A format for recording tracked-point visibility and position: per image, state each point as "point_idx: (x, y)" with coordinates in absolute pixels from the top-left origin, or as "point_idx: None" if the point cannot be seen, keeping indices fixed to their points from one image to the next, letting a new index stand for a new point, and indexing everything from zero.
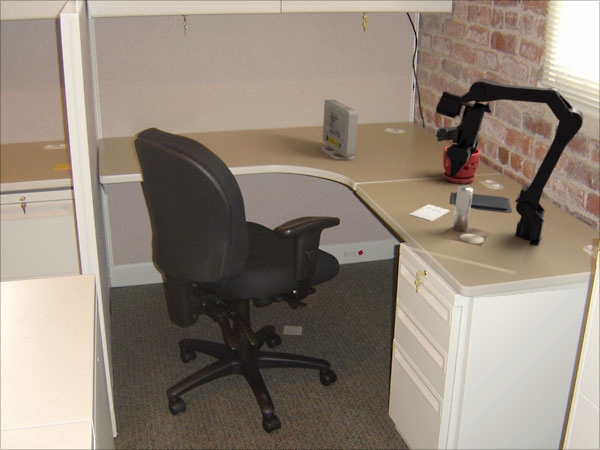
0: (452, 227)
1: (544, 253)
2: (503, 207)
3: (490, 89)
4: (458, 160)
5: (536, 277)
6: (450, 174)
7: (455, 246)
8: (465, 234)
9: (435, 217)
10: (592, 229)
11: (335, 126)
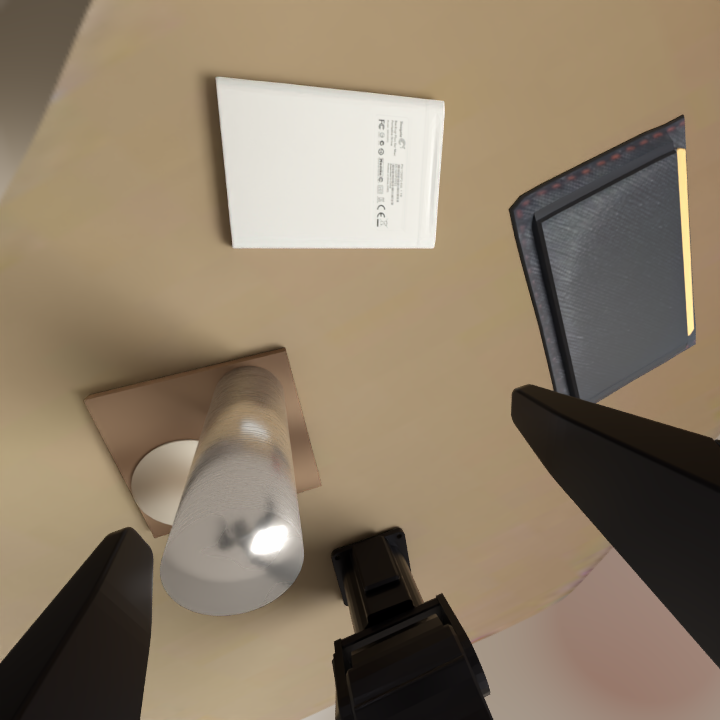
0: (226, 374)
1: (300, 636)
2: (582, 394)
3: None
4: None
5: None
6: (76, 575)
7: (80, 465)
8: None
9: (291, 240)
10: (553, 602)
11: None
